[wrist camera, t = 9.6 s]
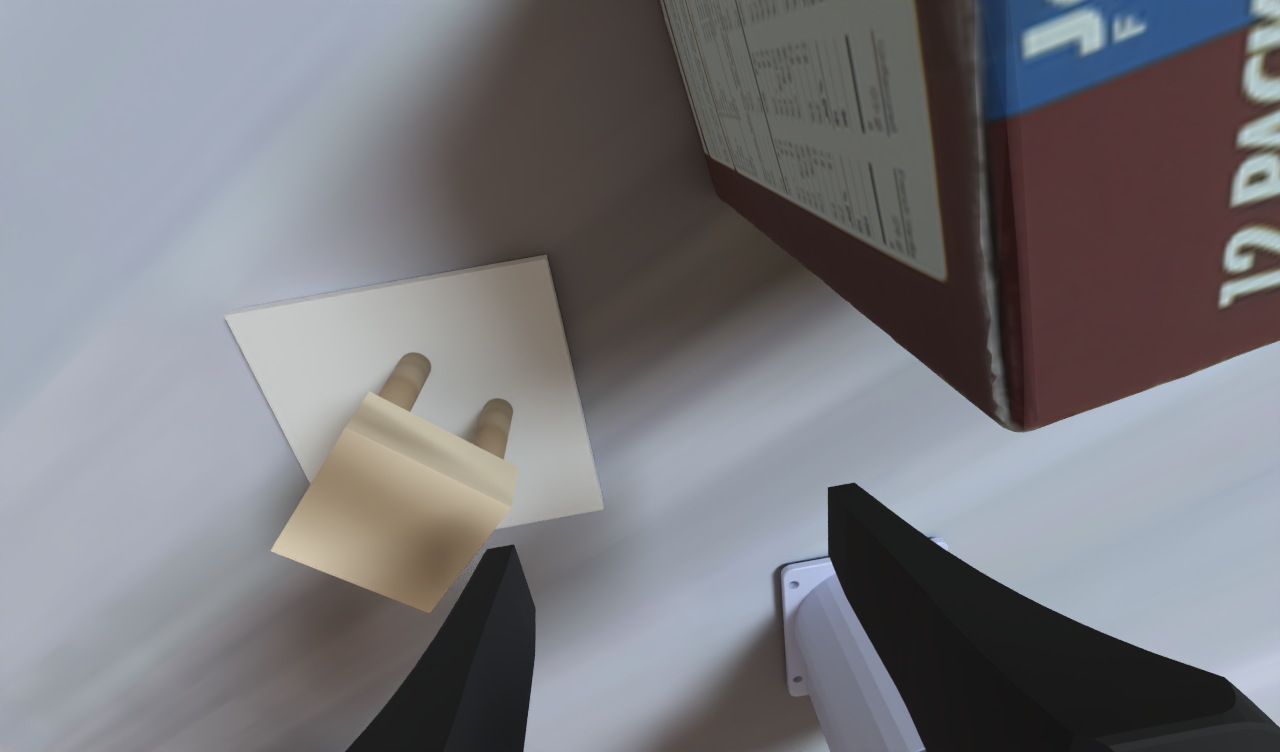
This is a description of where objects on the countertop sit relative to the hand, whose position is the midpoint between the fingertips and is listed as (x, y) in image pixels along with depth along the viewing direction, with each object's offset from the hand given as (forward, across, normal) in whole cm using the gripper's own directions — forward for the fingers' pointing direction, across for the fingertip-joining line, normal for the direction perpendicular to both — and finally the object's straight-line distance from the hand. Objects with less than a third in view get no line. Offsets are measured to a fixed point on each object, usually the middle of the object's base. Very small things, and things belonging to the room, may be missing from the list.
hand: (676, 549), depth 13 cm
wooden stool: (+10, +8, +1) cm, 13 cm away
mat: (+10, +8, +1) cm, 13 cm away
